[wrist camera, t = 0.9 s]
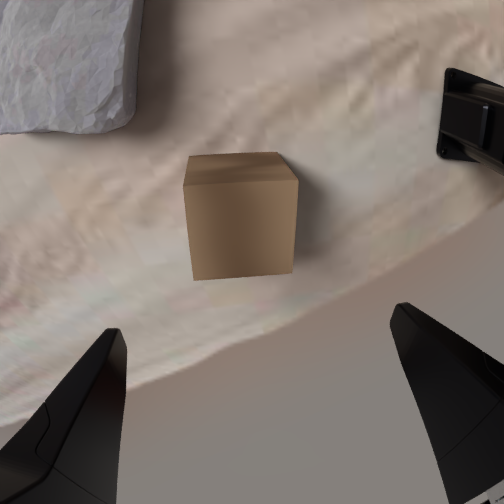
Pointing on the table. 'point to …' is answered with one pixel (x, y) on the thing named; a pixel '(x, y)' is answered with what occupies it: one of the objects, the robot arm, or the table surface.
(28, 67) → the stone block
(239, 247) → the walnut cube
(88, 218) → the table surface
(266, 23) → the table surface
